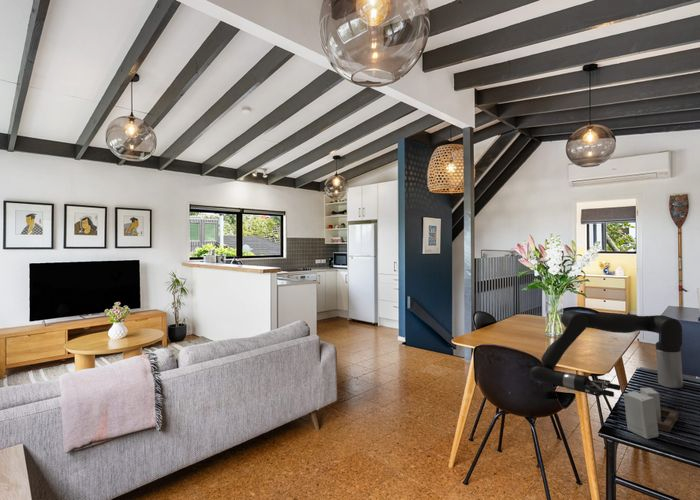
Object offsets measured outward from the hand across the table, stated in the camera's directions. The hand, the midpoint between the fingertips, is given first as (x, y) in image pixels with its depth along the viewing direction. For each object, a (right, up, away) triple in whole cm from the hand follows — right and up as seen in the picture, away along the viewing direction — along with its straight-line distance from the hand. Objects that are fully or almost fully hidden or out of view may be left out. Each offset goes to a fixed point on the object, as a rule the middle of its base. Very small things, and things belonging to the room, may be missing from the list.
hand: (617, 391), depth 164 cm
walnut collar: (+8, -8, -9) cm, 14 cm away
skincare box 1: (+8, -9, -8) cm, 15 cm away
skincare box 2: (-3, -10, -17) cm, 20 cm away
